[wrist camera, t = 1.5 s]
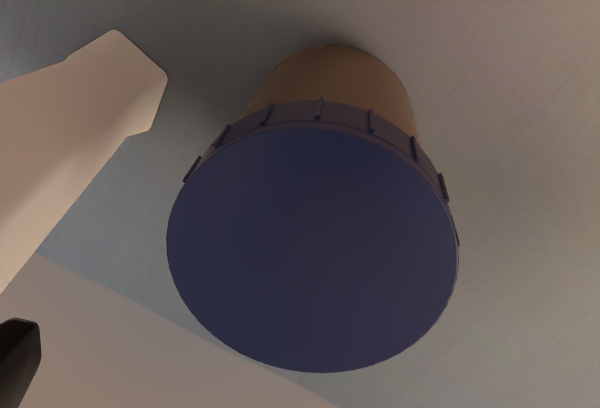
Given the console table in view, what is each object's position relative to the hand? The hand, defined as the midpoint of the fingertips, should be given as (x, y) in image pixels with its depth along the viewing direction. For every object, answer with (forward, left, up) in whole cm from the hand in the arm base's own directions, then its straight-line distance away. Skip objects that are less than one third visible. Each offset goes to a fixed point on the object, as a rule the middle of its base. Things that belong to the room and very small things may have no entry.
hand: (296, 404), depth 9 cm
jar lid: (0, 0, -4) cm, 4 cm away
